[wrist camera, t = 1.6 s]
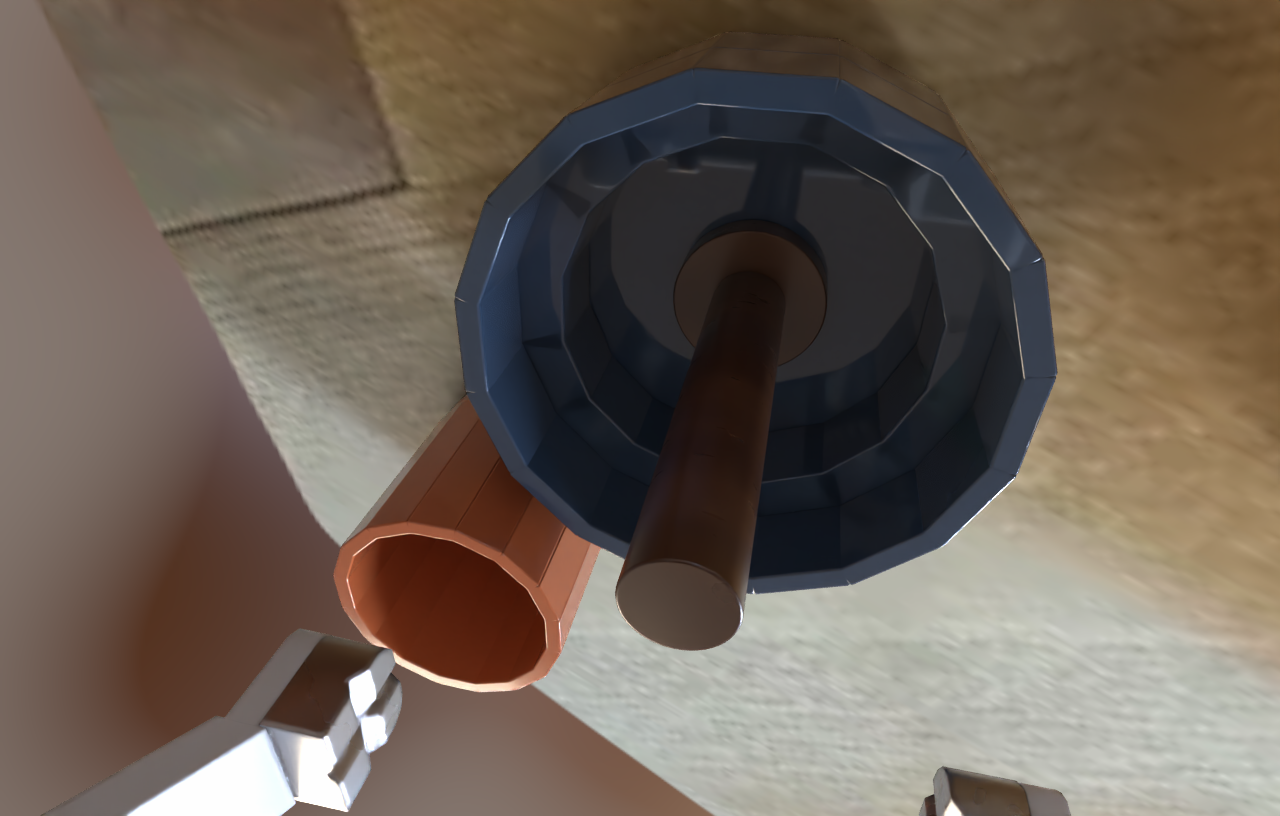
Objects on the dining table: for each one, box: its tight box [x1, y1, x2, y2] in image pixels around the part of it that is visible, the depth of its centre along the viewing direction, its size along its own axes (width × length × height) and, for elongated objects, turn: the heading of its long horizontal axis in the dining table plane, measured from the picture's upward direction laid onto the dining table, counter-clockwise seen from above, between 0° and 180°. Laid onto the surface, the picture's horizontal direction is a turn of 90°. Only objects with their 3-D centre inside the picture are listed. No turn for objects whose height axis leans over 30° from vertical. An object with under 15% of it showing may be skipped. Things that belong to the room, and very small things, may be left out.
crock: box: [333, 395, 600, 692], centre depth 27 cm, size 8×8×8 cm
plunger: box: [615, 220, 828, 651], centre depth 18 cm, size 5×5×13 cm
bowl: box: [454, 32, 1057, 594], centre depth 21 cm, size 14×14×6 cm
